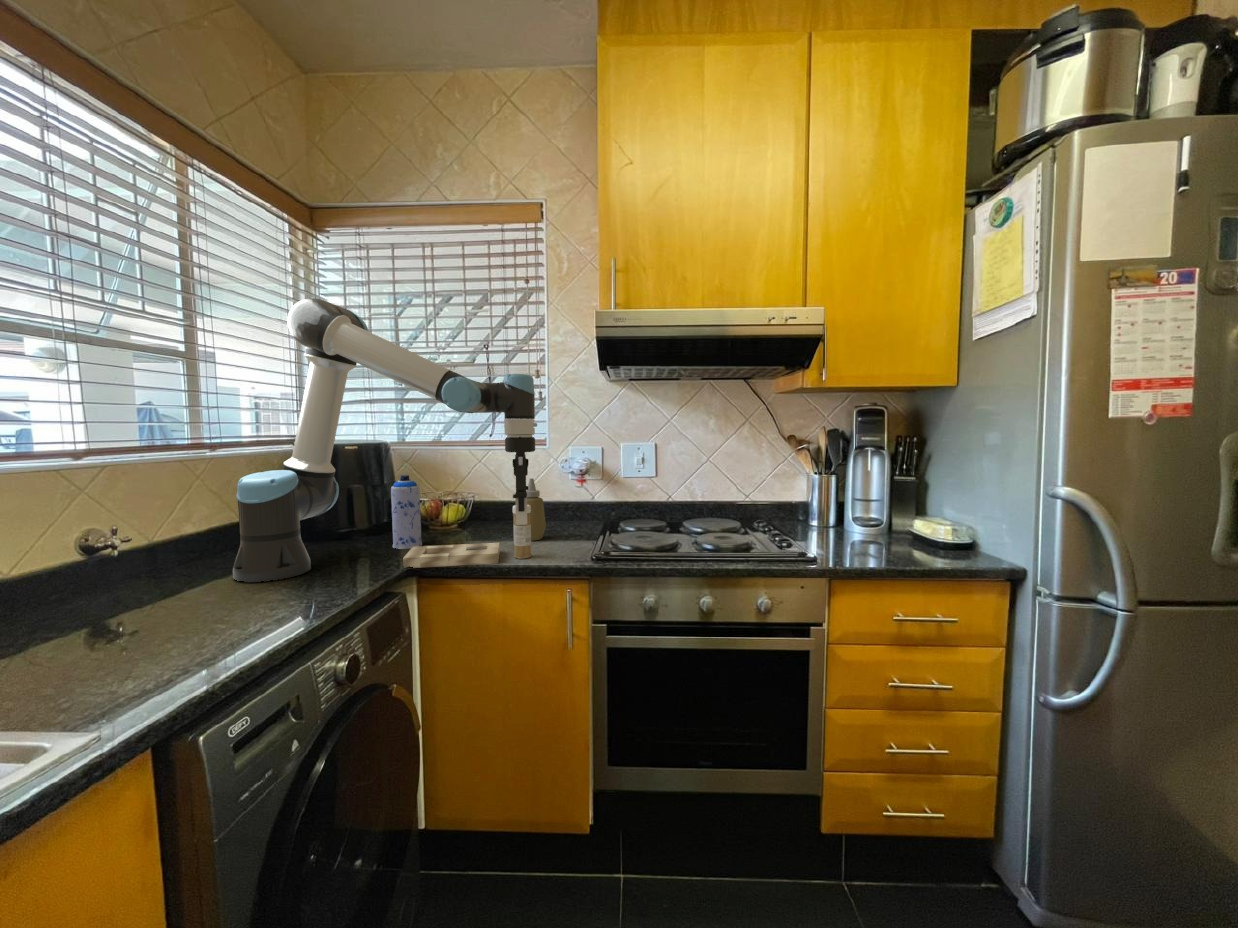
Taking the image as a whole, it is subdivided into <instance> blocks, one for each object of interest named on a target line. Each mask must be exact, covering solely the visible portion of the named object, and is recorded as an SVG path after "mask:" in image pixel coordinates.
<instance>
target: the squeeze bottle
mask: <svg viewBox="0 0 1238 928" xmlns="http://www.w3.org/2000/svg"><path fill="white" fill-rule="evenodd" d="M534 479H535V478H529V479H528V485H527V486H528V490H526V492H527V505H530V506H531V512H530V524H531V542H533V541H534V542H535V541H538V540H539V541H540V540H542V539H543V537H544V535H545V531H546V528H547V521H546V516H545V515H546V513H545V507H544V506H545V505H544V499H543V498H542V497H540V493H541V491H540V490H537V488H536V483H535V480H534Z"/></svg>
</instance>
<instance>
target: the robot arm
mask: <svg viewBox="0 0 1238 928" xmlns="http://www.w3.org/2000/svg"><path fill="white" fill-rule="evenodd" d="M286 321H287V327H288V330H289V332H290V334H291V336H292V337H293V338H294V340H295V341H296V342H297V343H299V344H300V345H302V346H304V347H305V348H304V357H305V358H306V359H307V361H308V362H309V365H308V371H307V378H306V383H305V387H304V392H303V398H302V403H301V408H300V413H299V418H298V423H297V424H298V425H297V430H296V433H295V437H294V438H295V439H294V444H293V450H292V455H291V456H290V457H289V458H288V459H286V460H285V461H283V465H282V469H277V470H276V469H274V470H266V471H263V472H261V471H259V472H255V473H251V474H247V475H245V476H242V477H241V478H240V479H239V480H238V482H237V489H236V490H237V492H236V495H235V496H236V500H237V509H238V522H239V523H238V525H239V534H240V536H239V537H240V538H239V539H240V541H239V542H240V545H239V548H238V552H237V555H236V557H235V561H234V563H233V564H234V565H233V567H232V578H234V579H235V580H237V581H236V582H239V581H244V582H243V583H261V581H264V582H271V581H270V580H273V581H278V579H279V580H284V578H285V579H290V578H292V577H296V576H299V575H302V574H305V573H307V572H308V571H310V570H312V567H311V564H312V563H311V557H310V556H309V553H308V551H307V549H306V546H305V544H304V542H303V540H302V537H301V522H300V521H302V520H306V519H309V518H313V517H318V516H320V515H322V514H324V513H326V512H328V511H329V510H331V508H333V507H334V505H335V504H336V502H337V500H338V498H339V494H340V493H339V492H340V488H339V487H340V486H339V484H338V482H337V480H336V477H335V474H336V468H335V467H334V466H333V464H332V462H331V460H332V456H333V449H334V445H335V441H336V440H335V439H336V434H337V430H338V425H339V419H340V416H341V415H340V414H341V410H342V406H343V405H342V404H343V400H344V395H345V390H346V389H345V388H346V383H347V380H348V374H349V373H350V371H351V370H353V369H355V368H356V367H357V364H358V365H360V366H363V367H366V368H368V369H369V370H372V371H373V372H376V373H378V374H380V375H381V376H382V375H383V376H384V377H386V378H389V379H391V380H393V381H395V382H397V383H399V384H402V385H403V386H406V387H407V388H410V389H413V390H414V391H416V392H418V393H421V394H423V395H425V396H427V397H430V398H431V399H434V400H436V401H438V402H440V403H442V404H444V405H445V406H447V408H449V409H450V410H452V411H455V412H458V413H466V414H485V413H486V414H487V413H488V414H490V413H493V414H494V413H497V414H499V413H503V415H504V420H503V421H504V423H503V424H504V435H505V436H506V437H505V438H504V451H505V452H506V453H515V455H514V457H515V458H513V459H512V467H513V475H514V476H515V492H514V493H515V494H512V499H515V500H514V501H515V505H516V525H526V524H527V492H526V491H527V490H528V485H527V476H528V473H529V471H528V468H529V458H526V457H527V456H526V453H533V452H535V451H536V438H535V437H534V435H535V434H536V432H535V431H536V428H537V427H538V423H537V422H535V419H536V418H535V414H536V413H535V409H536V408H535V407H536V406H535V401H536V400H535V399H536V398H535V395H536V392H535V384H534V381H535V380H534V378H533V376H532V375H530V374H528V373H527V374H526V373H524V374H523V373H509V374H505V375H504V376H503V380H502V382H501V381H500V382H480V381H476V380H474V379H473V380H472V379H471V378H468V377H466V376H464V375H461V374H460V373H457V372H455V371H453V370H451V369H449V368H447V367H444V366H442V365H441V364H438V363H436V362H434V361H432V360H430V359H427V358H426V357H423V356H421V355H419V354H417V353H415V352H413V351H410V350H409V349H407V348H404V347H402V346H400V345H398V344H395V343H394V342H392V341H389V340H387V339H385V338H384V337H381V336H379V335H376V334H374V333H373V332H370V331H369V327H368V325H367V324H366V322H365V320H363V319H362V318H361V317H360V316H359V315H357V314H356V313H354V312H353V311H352V310H349V309H347V308H344V307H341V306H339V305H336V304H334V303H332V302H329V301H326V300H324V299H321V298H312V297H311V298H310V297H309V298H304V299H301V300H299V301H297V302H296V303H294V305H293V306H292V307H291V308H290V309H289V311H288V314H287V320H286ZM234 579H233V580H234ZM235 580H234V581H235Z"/></svg>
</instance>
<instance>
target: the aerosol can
mask: <svg viewBox="0 0 1238 928" xmlns="http://www.w3.org/2000/svg"><path fill="white" fill-rule="evenodd" d="M419 486H420V485H418V484H417V482H415V481H414V480H412V479H410V475H409V474H407V475H405V474H403V475H401V474H400V480H397V481H396V482H394V483H393V485H392V486H391V487H390V498H391V499H390V501H391V518H392V519H391V520H392V521H391V522H392V523H391V524H392V525H391V526H392V543H393V544H392V548H393V549H395V548H396V549H397V550H407V549H409V550H410V549H411V548H412V547H417V546H423V542H422V524H421V523H422V521H421V519H422V517H421V496H420V493H421V492H420V487H419Z"/></svg>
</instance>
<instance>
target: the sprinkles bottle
mask: <svg viewBox="0 0 1238 928" xmlns="http://www.w3.org/2000/svg"><path fill="white" fill-rule="evenodd" d="M530 512H531V506H530V505H527V524H526V525H516V504H514V505H512V517H513V520H512V521H513V525H512V526H513V527H512V528H513V545H514V546H513V547H514V548H513V549H514V550H513V552H514V553H513V557H514V558H515V559H519V560H520V559H530V558H531V557H532V541H531V524H530Z"/></svg>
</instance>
